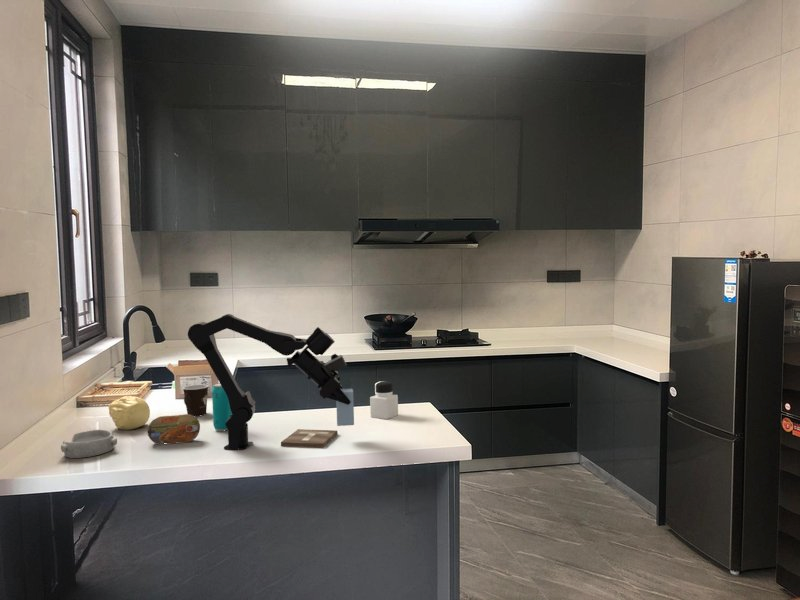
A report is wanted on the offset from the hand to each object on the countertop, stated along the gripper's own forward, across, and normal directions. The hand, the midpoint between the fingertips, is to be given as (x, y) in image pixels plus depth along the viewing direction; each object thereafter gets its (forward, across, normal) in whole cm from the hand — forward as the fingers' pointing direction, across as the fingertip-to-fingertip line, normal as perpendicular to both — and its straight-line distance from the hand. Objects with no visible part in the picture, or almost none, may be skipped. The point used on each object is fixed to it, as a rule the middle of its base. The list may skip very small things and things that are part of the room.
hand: (349, 401), depth 185 cm
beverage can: (-20, +20, +38) cm, 47 cm away
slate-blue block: (+4, 0, +6) cm, 7 cm away
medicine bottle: (+18, +27, -1) cm, 32 cm away
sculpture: (-43, +30, +60) cm, 79 cm away
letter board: (0, +2, +17) cm, 17 cm away
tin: (-29, +9, +46) cm, 55 cm away
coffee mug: (-30, +43, +47) cm, 71 cm away
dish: (-45, +4, +63) cm, 77 cm away
